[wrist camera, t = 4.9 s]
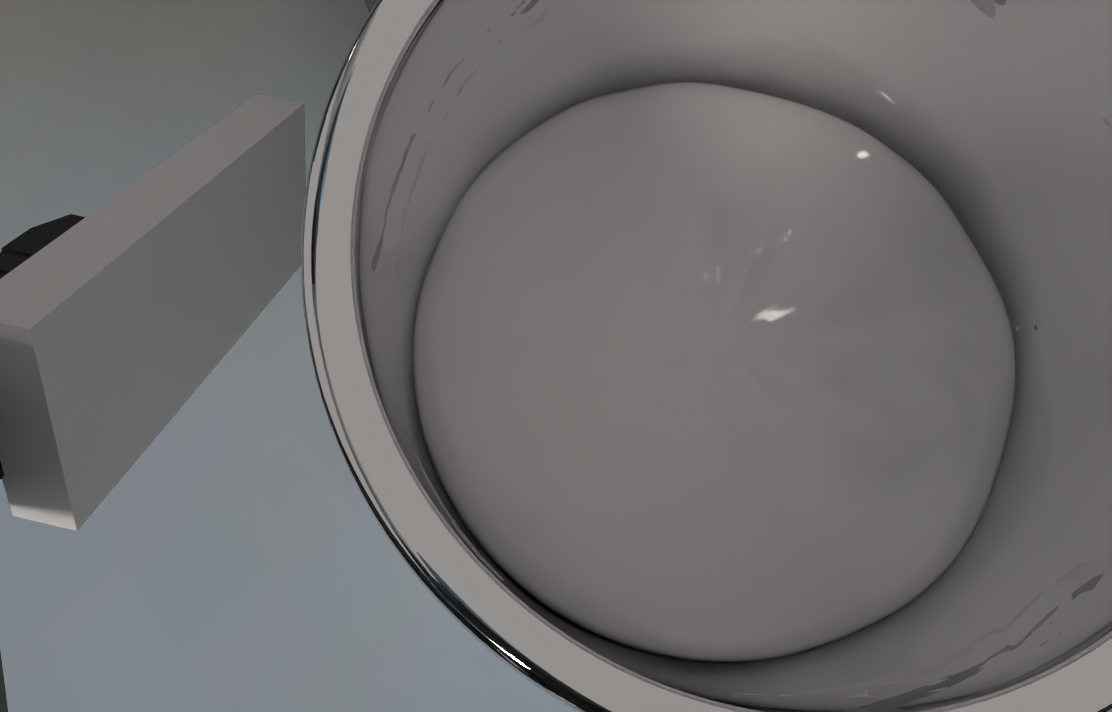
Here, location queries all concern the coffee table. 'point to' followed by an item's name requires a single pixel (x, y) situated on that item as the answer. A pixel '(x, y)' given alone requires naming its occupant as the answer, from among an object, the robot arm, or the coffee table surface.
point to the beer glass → (733, 342)
